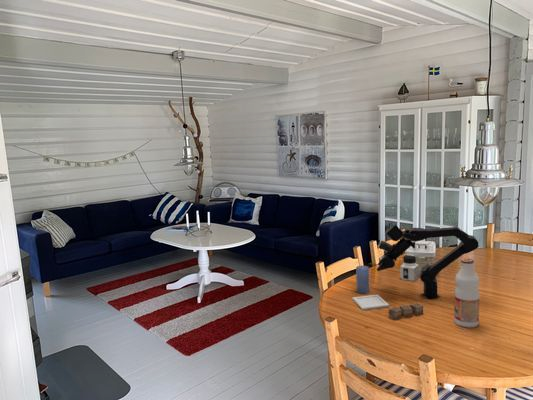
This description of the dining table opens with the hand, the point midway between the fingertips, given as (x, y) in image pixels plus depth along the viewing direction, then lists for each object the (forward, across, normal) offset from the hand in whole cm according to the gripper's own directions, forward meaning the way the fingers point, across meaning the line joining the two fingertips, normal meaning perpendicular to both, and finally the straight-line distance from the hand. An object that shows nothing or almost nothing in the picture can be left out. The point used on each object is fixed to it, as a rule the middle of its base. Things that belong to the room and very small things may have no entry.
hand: (378, 267), depth 209 cm
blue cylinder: (+15, 0, +4) cm, 16 cm away
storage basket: (-5, -41, +25) cm, 48 cm away
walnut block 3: (-3, +22, +23) cm, 32 cm away
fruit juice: (-17, +27, +37) cm, 49 cm away
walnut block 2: (0, +25, +20) cm, 32 cm away
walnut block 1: (+3, +28, +16) cm, 33 cm away
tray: (+11, +15, +8) cm, 20 cm away
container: (-1, -25, +20) cm, 32 cm away
